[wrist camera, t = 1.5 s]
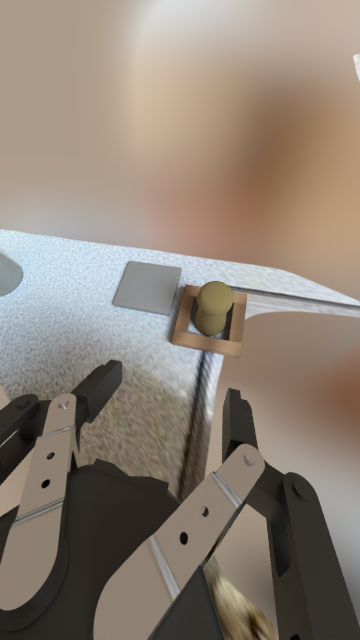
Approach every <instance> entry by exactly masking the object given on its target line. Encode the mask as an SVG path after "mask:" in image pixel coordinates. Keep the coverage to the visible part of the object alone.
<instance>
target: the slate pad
mask: <svg viewBox="0 0 360 640" xmlns="http://www.w3.org/2000/svg"><path fill="white" fill-rule="evenodd" d="M180 275H181V268H178V267H170V266H163V265H156V264H149V263H142V262H135V261H129V263H128V266H127V268H126V271H125V273H124V276H123V278H122V281H121V284H120V286H119V289H118V291H117V294H116V296H115V299H114V301H113V305H114V306H117V307H122V308H128V309H133V310H139V311H144V312H150V313H155V314H161V315H166V316H170V313H171V309H172V305H173V301H174V298H175V294H176V290H177V286H178V282H179V279H180Z"/></svg>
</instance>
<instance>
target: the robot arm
mask: <svg viewBox="0 0 360 640" xmlns="http://www.w3.org/2000/svg"><path fill="white" fill-rule="evenodd" d="M22 274H23V272H22V269H21V267H20V266H18V265H17V264H16V263H14V262H13V261H11V260H10V259H9V258H7V257H6V256H4V255H3V254H2V253H0V296H3V295H5V294H7V293H9V292H11V291H12V290H13V289H15V288H16V287H17V285H18V284H19V283H20V281H21V279H22ZM121 382H122V363H121V362H120V361H116V360H112V359H111V360H110V361H109V362H108V363H107V364H106V365H101V366H99V367H97V368H96V369H94V370H93V371H92V372H91V374H89V375H88V376H87V378H85V379H84V380H83V381H82V382H81V383H80V384H79V385H78V386H77V387H76V388H75V389H74V390H73V391H72V392H71V393H68V394H62V395H60V396H58V397H56V398H55V399H53V400H41V401H39V400H38V397H37V395H35V394H26V395H22V396H20V397H18V398H16V399H14V400H13V401H12V402H10V403H9V404H8V405H7V406H6V407H4V408H3V409H2V410H0V446H1V444H2V443H3V442H4V441H5V440H6V439H7V438H9V436H11V435H12V434H13V433H14V432H15V431H17V432H16V433H15V434H14V435H13V436H12V437H11V438H10V439H9V440H8V441H7V442H5V444H3V445H2V446H1V447H0V485H1V484H2V483H3V482H4V481H5V480H6V478H7V477H8V476H9V475H10V474H11V473H12V472H13V470H14V469H15V468H16V467H17V466H18V465H19V463H20V462H21V461H22V460H23V459H24V458H25V457H26V456H27V454H28V453H29V452H30V451H31V450H32V449H33V448H34V447H35V448H34V452H33V456H32V460H31V463H30V468H29V471H28V475H27V479H26V483H25V487H24V490H23V494H22V498H21V502H20V505H18V506H16V507H15V508H13V509H12V510H10V511H9V512H7V513H5V514H4V515H2V516H1V517H0V640H225V638H224V635H223V632H222V629H221V625H220V622H219V619H218V616H217V613H216V609H215V606H214V603H213V600H212V597H211V594H210V590H209V587H208V584H207V581H206V578H205V574H204V571H203V570H204V569H205V567H206V566H207V564H208V563H209V561H210V560H211V558H212V557H213V555H214V554H215V552H216V550H217V549H218V547H219V546H220V544H221V542H222V541H223V539H224V537H225V536H226V534H227V532H228V531H229V529H230V528H231V526H232V525H233V523H234V521H235V520H236V518H237V517H238V515H239V514H240V512H241V511H242V509H243V508H244V506H245V505H246V503H247V504H248V505H250V506H251V507H252V508H254V509H255V510H256V511H258V512H259V513H260V514H262V515H263V516H264V517H265V518H266V521H267V531H268V540H269V549H270V558H271V568H272V578H273V587H274V596H275V606H276V615H277V624H278V634H279V640H360V627H359V624H358V621H357V618H356V615H355V611H354V608H353V605H352V602H351V599H350V596H349V593H348V590H347V586H346V583H345V580H344V577H343V575H342V571H341V568H340V565H339V561H338V558H337V555H336V552H335V549H334V546H333V543H332V540H331V537H330V534H329V530H328V528H327V524H326V521H325V518H324V515H323V512H322V509H321V505H320V502H319V499H318V496H317V494H316V492H315V490H314V489H313V487H312V486H311V484H310V483H309V482H308V481H307V480H306V479H305V478H303V477H302V476H300V475H299V474H296V473H293V472H289V473H287V474H285V475H284V474H282V473H281V472H279V471H278V470H276V469H275V468H273V467H272V466H270V465H269V464H268V463H267V462H266V461H265V460H264V459H263V457H262V455H261V454H260V452H259V450H258V446H257V440H256V434H255V427H254V423H253V417H252V409H251V406H250V405H249V403H248V402H247V400H243V399H241V396H240V391H239V390H236V389H232V388H228V391H227V394H226V398H225V401H224V406H223V427H222V429H223V430H222V432H223V433H222V465H221V466H220V467H219V469H218V470H217V471H216V472H211V473H210V474H209V475H208V476H207V477H206V478H205V479H204V480H203V481H202V482H201V484H200V485H199V486H198V487H197V488H196V489H195V490H194V491H193V492H192V493H191V494H190V495H189V497H188V498H187V499H186V500H185V501H184V502H183V503H182V504H180V502H179V501H178V500H177V498H176V497H175V496H174V495H173V494H172V493H171V492H170V491H169V490H168V485H169V483H167V482H164V481H161V480H158V479H155V478H152V477H136V476H128V475H127V474H125V473H124V472H123V471H122V470H120V469H119V468H118V467H117V466H115V465H114V464H112V463H109V462H106V461H103V460H100V459H98V458H97V459H96V460H95V462H94V464H93V465H85V466H82V467H81V438H82V425H83V424H84V423H85V422H87V423H92V422H93V421H94V419H95V418H96V417H97V415H98V414H99V413H100V411H101V410H102V409H103V407H104V406H105V404H106V403H107V402H108V400H109V399H110V398H111V396H112V395H113V394H114V392H115V391H116V390H117V388H118V387H119V386H120V384H121Z"/></svg>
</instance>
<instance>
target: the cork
mask: <svg viewBox="0 0 360 640" xmlns="http://www.w3.org/2000/svg"><path fill="white" fill-rule="evenodd" d="M197 302H198V306H199V308H198V310H197V313H196V316H195V321H194V323H195V327H196V328H197V330H198V331H199V332H200V333H202V334H204V335H206V336H214V335H217V334H219V333H221V332H222V330H223V329H224V327H225V325H226V314H227V312H228V311H229V309H230V308H231V306H232V304H233V293H232V290H231V289H230V287H229V286H228V285H226V284H225V283H223V282H220V281H212V282H208V283H206V284H205V285H203V286H202V287H201V289H200V290H199V293H198V297H197Z"/></svg>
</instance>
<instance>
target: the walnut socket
mask: <svg viewBox="0 0 360 640" xmlns="http://www.w3.org/2000/svg"><path fill="white" fill-rule="evenodd" d="M200 289H201V287H198V286H192V285H186V286H185V290H184V294H183V298H182V302H181V306H180V310H179V314H178V318H177V322H176V326H175V330H174V334H173V339H172V344H173V345H177V346H182V347H187V348H192V349H197V350H202V351H207V352H211V353H216V354H221V355H226V356H231V357H236V358H239V357H240V356H241V349H242V339H243V330H244V321H245V311H246V302H247V294H244V293H237V292H232V293H233V304H232V306H231V307H232V312H231V319H230V326H229V334H228V341H227V340H222V339H216V338H211V337H206V336H201V335H196V334H191V333H187V332H188V328H189V323H190V319H191V314H192V309H193V305H194V301H197V297H198V293H199V290H200Z"/></svg>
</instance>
